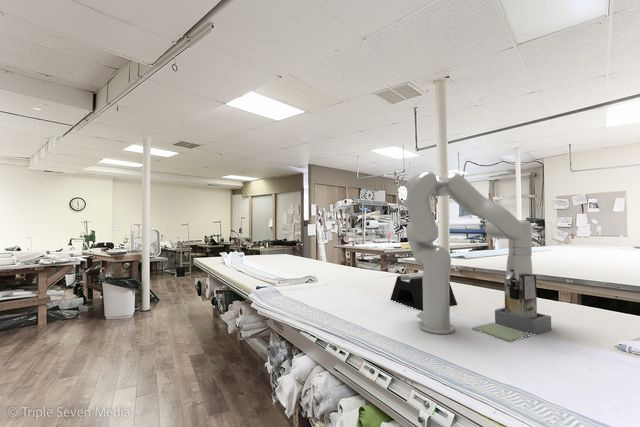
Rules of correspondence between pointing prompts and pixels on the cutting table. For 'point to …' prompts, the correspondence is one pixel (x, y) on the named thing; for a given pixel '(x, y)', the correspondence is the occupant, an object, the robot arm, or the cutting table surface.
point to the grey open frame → (523, 322)
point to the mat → (501, 332)
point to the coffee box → (522, 297)
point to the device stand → (413, 291)
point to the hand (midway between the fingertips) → (520, 297)
